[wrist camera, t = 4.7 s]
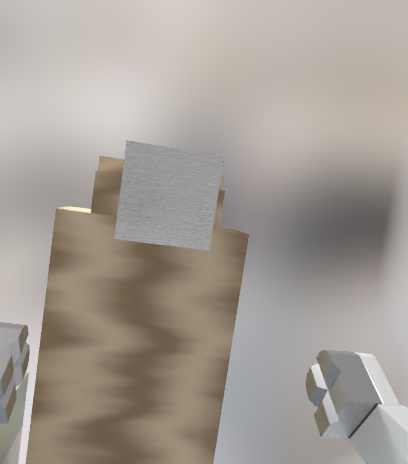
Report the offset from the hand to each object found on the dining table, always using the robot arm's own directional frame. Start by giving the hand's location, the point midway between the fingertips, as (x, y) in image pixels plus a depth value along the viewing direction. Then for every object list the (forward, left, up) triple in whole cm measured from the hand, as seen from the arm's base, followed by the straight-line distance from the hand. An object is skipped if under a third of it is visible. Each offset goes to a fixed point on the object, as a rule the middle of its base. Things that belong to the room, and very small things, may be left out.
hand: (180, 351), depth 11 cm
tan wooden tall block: (0, +16, -23) cm, 28 cm away
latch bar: (-1, +11, +2) cm, 11 cm away
